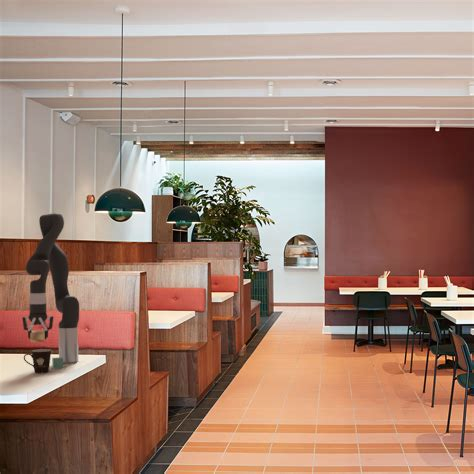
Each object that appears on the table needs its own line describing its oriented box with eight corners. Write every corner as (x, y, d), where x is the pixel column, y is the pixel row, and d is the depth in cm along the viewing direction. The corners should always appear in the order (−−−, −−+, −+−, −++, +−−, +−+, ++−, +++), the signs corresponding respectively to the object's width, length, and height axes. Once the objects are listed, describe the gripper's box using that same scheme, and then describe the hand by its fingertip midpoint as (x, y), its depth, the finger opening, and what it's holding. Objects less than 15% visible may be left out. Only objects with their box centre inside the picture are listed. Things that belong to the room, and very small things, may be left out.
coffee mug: (55, 370, 321) (54, 349, 321) (44, 374, 312) (43, 352, 313) (33, 369, 324) (33, 348, 324) (22, 373, 316) (22, 351, 316)
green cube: (62, 366, 333) (61, 357, 333) (63, 368, 329) (63, 358, 329) (52, 367, 331) (52, 357, 331) (53, 368, 327) (53, 359, 327)
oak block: (45, 338, 325) (45, 330, 325) (44, 341, 314) (44, 333, 314) (32, 339, 323) (32, 330, 324) (30, 342, 313) (30, 333, 313)
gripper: (55, 301, 323) (55, 337, 323) (23, 302, 322) (23, 338, 322) (52, 303, 316) (52, 339, 316) (20, 303, 314) (20, 340, 314)
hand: (38, 338), depth 319 cm, fingers closed on oak block, 6 cm apart
